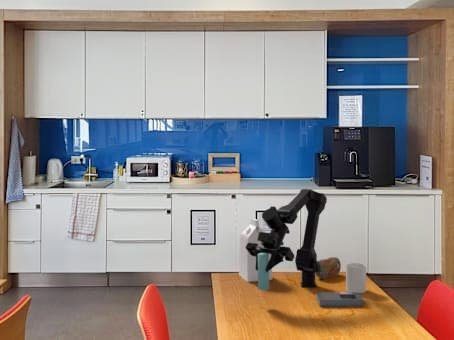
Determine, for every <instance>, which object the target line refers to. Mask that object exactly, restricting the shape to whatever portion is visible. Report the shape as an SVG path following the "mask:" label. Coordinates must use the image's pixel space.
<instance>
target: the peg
mask: <svg viewBox="0 0 454 340" xmlns="http://www.w3.org/2000/svg"><path fill="white" fill-rule="evenodd" d="M268 262H269V254H268V253H258V281H257V289H258V290H260V291H268V290H270V280H269V271H268V272H266V267H267V265H268Z"/></svg>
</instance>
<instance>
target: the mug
mask: <svg viewBox="0 0 454 340" xmlns="http://www.w3.org/2000/svg"><path fill="white" fill-rule="evenodd" d="M345 290H346V291H345V292H359V294H364V293H366V292H367V265H366V264H364V263H359V262H356V263H355V262H350V263H346V264H345Z"/></svg>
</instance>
